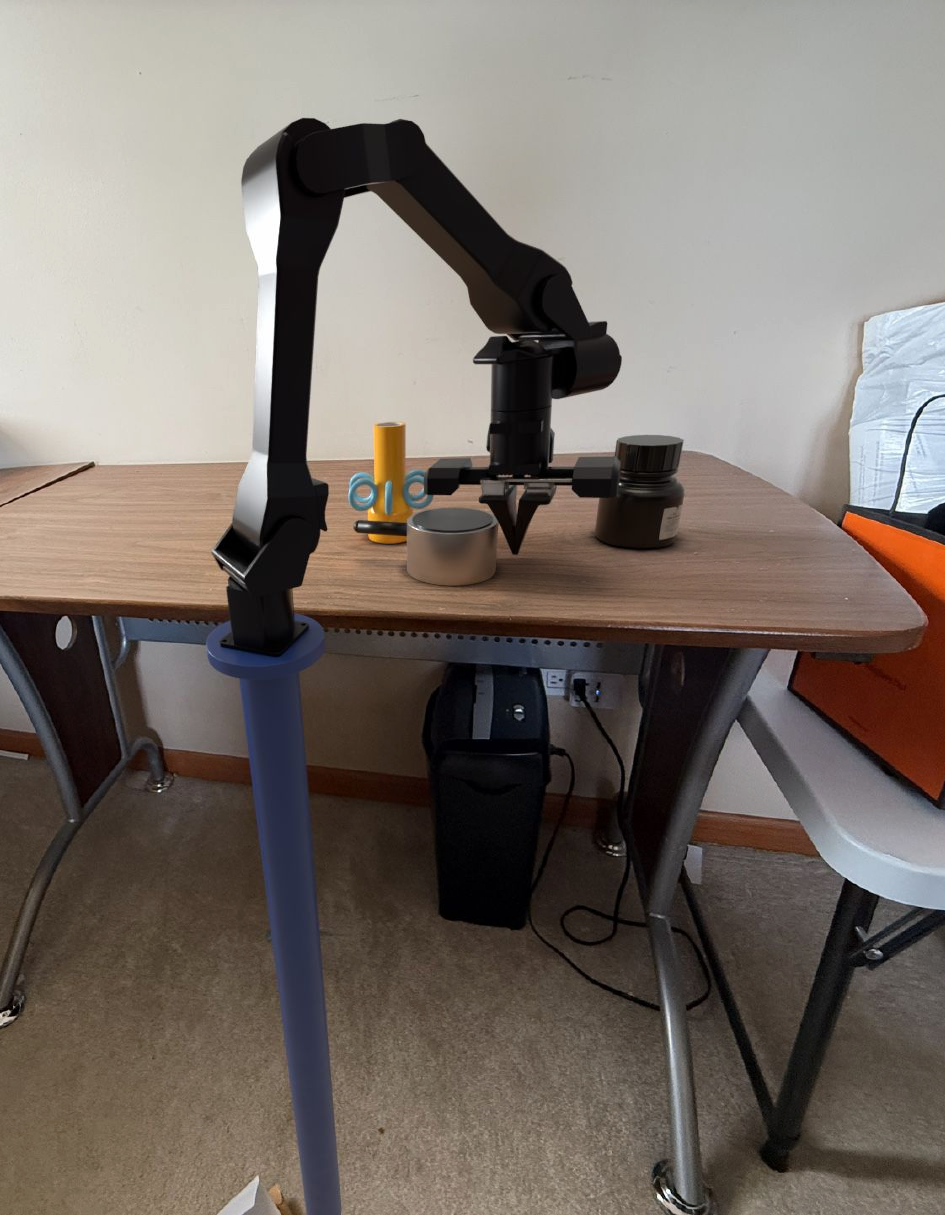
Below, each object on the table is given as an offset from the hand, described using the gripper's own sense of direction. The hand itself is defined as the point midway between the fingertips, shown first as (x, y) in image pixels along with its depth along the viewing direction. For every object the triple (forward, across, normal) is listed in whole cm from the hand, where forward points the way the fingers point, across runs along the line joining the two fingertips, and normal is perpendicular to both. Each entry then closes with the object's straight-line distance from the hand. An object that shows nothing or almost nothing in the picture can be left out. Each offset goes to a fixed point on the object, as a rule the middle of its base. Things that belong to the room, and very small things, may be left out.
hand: (515, 553), depth 69 cm
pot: (+2, +10, 0) cm, 11 cm away
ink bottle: (+4, -11, -16) cm, 20 cm away
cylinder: (+2, +18, -9) cm, 20 cm away
